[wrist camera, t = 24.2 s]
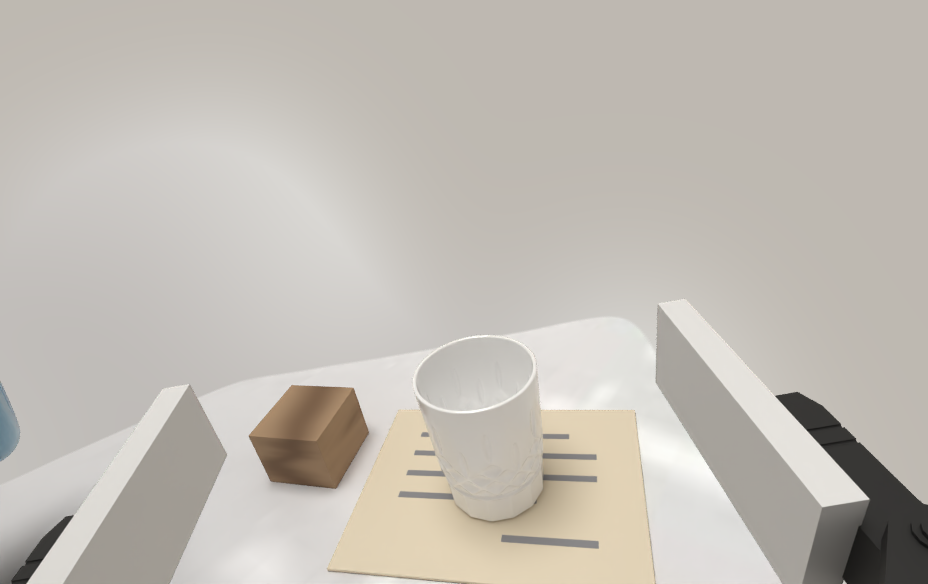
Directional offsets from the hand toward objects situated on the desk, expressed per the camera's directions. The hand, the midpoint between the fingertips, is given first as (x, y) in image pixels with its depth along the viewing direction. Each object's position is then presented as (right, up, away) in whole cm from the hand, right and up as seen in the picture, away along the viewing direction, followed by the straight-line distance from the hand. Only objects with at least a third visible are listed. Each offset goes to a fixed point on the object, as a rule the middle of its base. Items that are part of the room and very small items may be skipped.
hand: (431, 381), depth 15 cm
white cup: (+3, -11, +22) cm, 25 cm away
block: (-11, -11, +28) cm, 32 cm away
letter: (+3, -11, +22) cm, 25 cm away
